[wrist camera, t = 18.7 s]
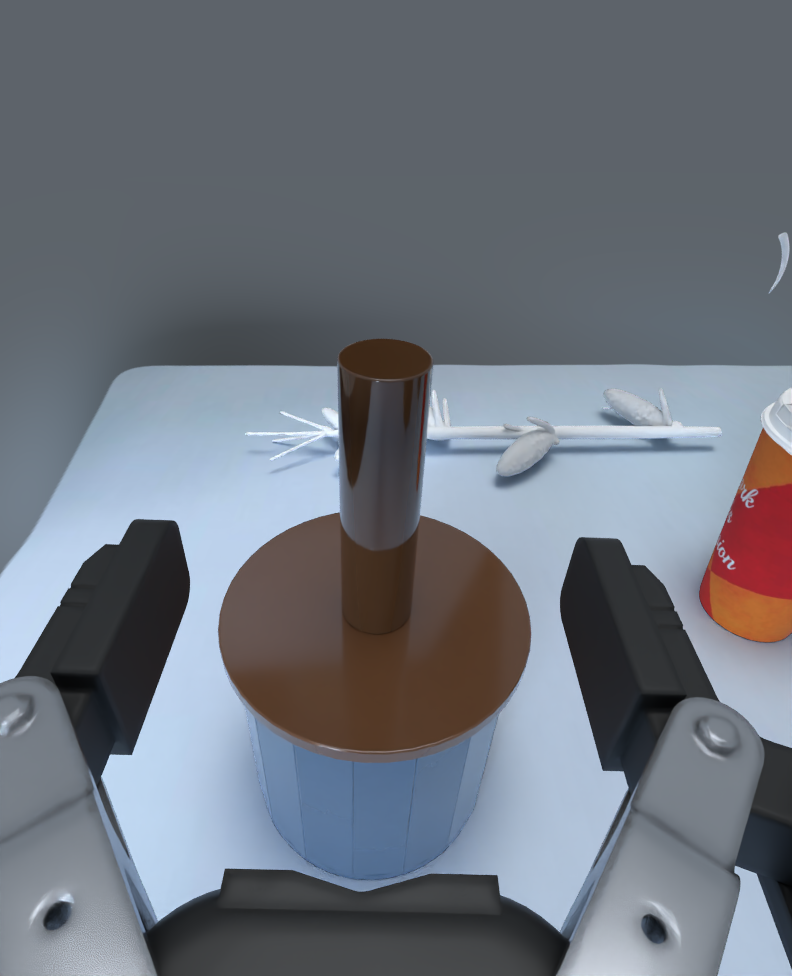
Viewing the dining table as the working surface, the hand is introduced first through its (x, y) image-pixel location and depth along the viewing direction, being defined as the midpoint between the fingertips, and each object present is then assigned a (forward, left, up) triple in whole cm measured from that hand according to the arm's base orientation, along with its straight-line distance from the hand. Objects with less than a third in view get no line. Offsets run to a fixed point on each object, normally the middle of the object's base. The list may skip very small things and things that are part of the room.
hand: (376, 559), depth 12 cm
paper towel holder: (-5, -4, -9) cm, 11 cm away
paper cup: (-28, +7, -20) cm, 35 cm away
